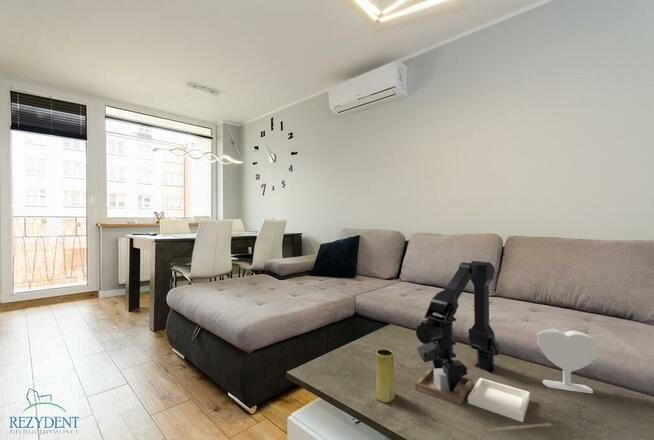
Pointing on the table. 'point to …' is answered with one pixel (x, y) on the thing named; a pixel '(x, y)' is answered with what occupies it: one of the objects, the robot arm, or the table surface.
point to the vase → (384, 375)
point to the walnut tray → (456, 397)
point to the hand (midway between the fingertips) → (444, 383)
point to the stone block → (441, 380)
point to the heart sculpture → (567, 355)
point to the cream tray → (500, 399)
